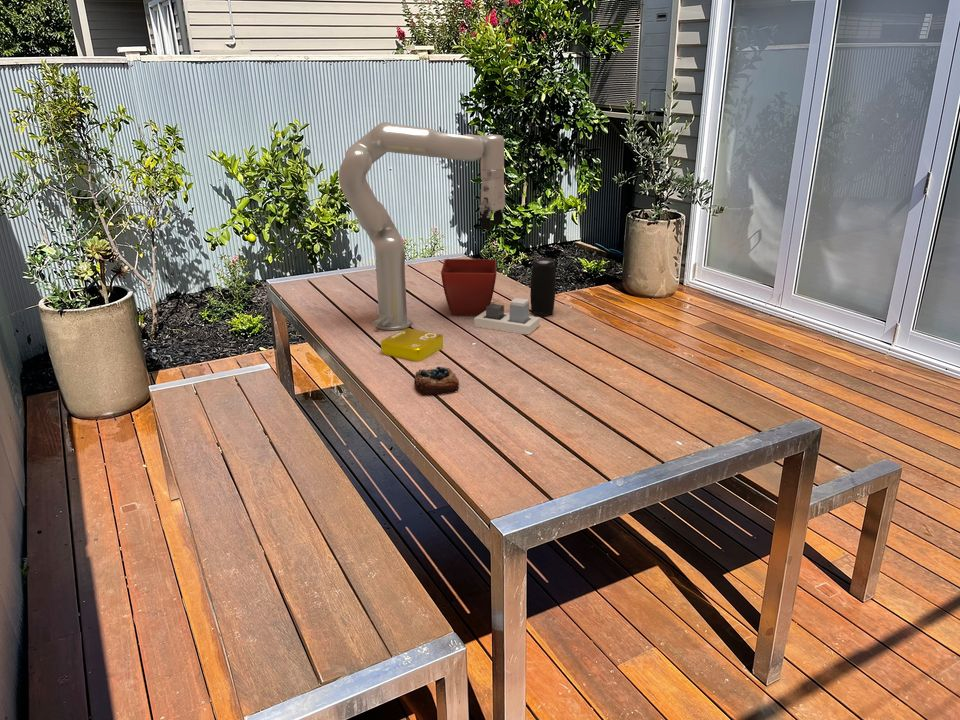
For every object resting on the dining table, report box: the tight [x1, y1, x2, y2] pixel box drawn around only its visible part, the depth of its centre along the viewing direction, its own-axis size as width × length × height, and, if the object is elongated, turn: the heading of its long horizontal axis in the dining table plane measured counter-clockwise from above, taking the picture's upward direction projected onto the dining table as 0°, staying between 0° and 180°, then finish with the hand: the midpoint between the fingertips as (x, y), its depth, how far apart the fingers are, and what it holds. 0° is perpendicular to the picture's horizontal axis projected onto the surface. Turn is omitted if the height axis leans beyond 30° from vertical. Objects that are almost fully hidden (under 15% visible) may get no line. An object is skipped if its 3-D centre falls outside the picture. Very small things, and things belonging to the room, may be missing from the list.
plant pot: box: [440, 258, 497, 317], centre depth 253 cm, size 19×19×17 cm
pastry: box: [413, 366, 460, 396], centre depth 193 cm, size 11×12×6 cm
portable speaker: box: [529, 257, 557, 318], centre depth 249 cm, size 9×9×20 cm
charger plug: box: [509, 297, 530, 324], centre depth 236 cm, size 5×5×9 cm
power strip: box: [473, 302, 541, 336], centre depth 242 cm, size 18×20×7 cm
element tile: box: [380, 327, 444, 362], centre depth 219 cm, size 15×15×5 cm
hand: (492, 227), depth 235 cm, fingers open, 9 cm apart
